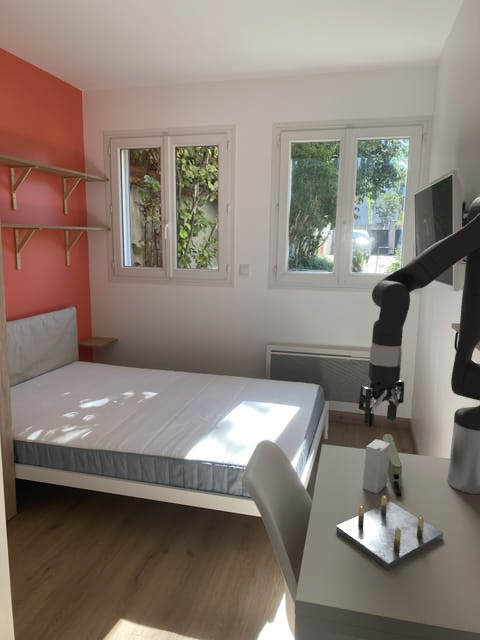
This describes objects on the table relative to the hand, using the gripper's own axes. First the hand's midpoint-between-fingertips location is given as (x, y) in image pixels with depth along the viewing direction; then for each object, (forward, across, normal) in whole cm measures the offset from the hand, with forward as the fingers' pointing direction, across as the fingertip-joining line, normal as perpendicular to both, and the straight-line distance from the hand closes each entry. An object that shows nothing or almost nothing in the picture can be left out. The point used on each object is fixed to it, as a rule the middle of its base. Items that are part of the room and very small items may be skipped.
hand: (380, 422), depth 115 cm
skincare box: (+18, 0, 0) cm, 18 cm away
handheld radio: (+18, -10, -2) cm, 21 cm away
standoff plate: (+18, +13, +15) cm, 27 cm away
